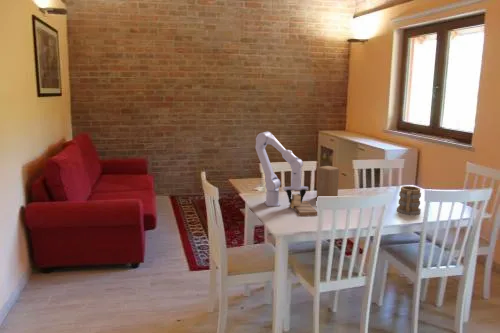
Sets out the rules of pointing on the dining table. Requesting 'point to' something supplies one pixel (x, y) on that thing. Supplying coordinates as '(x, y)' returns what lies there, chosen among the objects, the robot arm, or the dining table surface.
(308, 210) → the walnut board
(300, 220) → the dining table surface
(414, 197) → the tankard
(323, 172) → the wooden block
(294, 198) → the tan wood block
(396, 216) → the dining table surface
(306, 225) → the dining table surface
